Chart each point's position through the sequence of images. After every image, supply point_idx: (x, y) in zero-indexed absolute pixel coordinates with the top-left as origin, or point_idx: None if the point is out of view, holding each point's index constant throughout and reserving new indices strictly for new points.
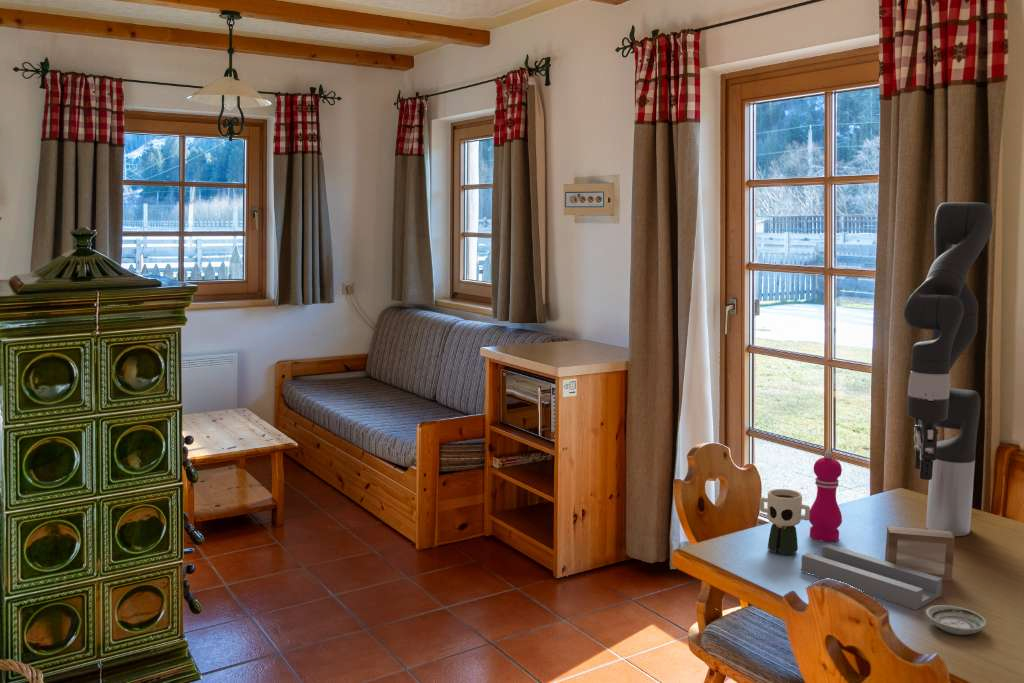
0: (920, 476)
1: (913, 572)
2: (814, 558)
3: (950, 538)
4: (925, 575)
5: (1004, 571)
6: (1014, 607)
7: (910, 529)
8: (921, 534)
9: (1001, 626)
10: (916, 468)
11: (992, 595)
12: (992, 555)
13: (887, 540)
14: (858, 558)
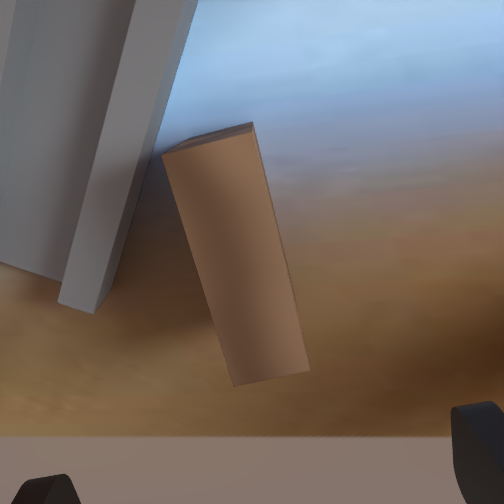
0: (18, 495)
1: (88, 235)
2: None
3: (229, 372)
4: (84, 270)
5: (378, 416)
6: (137, 435)
7: (256, 233)
8: (211, 278)
9: (4, 413)
10: (452, 411)
11: (187, 395)
12: (499, 390)
13: (220, 136)
14: (129, 34)
